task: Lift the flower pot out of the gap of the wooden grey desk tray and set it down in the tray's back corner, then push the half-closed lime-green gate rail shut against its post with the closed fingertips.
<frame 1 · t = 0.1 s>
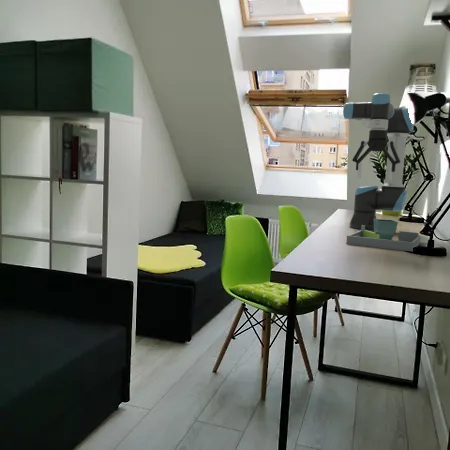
hand: (374, 178, 211), 28 cm above the table, fingers open, 13 cm apart
gate: (371, 234, 214), point 3 cm above the table, hinge at 50.0°
flower pot: (383, 239, 221), on the table
grey desk tray: (382, 243, 207), on the table
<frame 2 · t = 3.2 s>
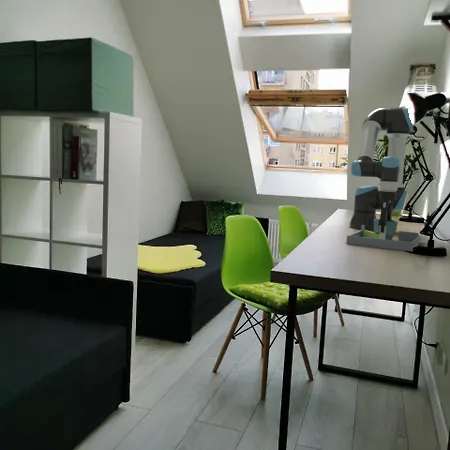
hand: (384, 238, 221), 0 cm above the table, fingers closed on flower pot, 11 cm apart
flower pot: (383, 239, 221), on the table, touching gripper
everything else where it was.
when the fingers open (2 cm above the table, at t = 9.8 s): flower pot drops 1 cm, resting in grey desk tray.
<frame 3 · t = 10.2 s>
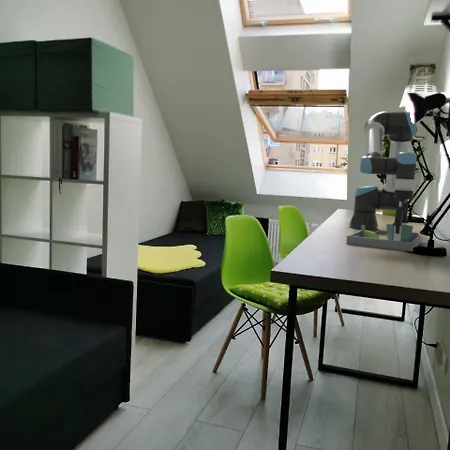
hand: (399, 239, 202), 3 cm above the table, fingers open, 13 cm apart
flower pot: (398, 246, 201), resting in grey desk tray, touching gripper
everything else where it was.
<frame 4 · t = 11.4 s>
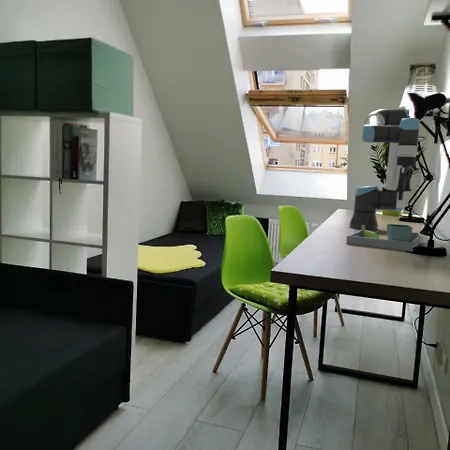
hand: (402, 207, 201), 17 cm above the table, fingers open, 13 cm apart
flower pot: (397, 246, 201), resting in grey desk tray
everything else where it was.
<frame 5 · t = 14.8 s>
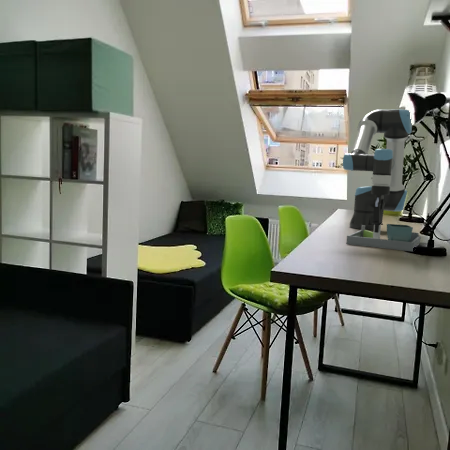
hand: (376, 239, 206), 2 cm above the table, fingers closed
gate: (371, 234, 214), point 3 cm above the table, hinge at 49.4°, touching gripper
everything else where it was.
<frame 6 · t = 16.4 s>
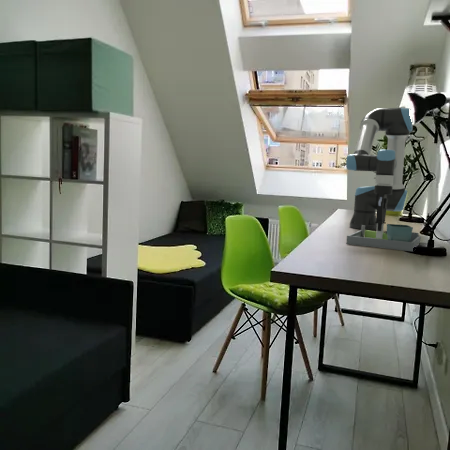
hand: (379, 238, 212), 2 cm above the table, fingers closed
gate: (377, 234, 215), point 3 cm above the table, hinge at 24.7°, touching gripper
everything else where it was.
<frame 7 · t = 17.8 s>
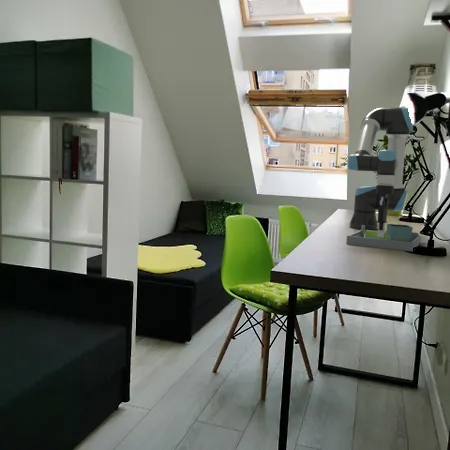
hand: (380, 237, 215), 2 cm above the table, fingers closed
gate: (379, 234, 216), point 3 cm above the table, hinge at 8.8°, touching gripper
everything else where it was.
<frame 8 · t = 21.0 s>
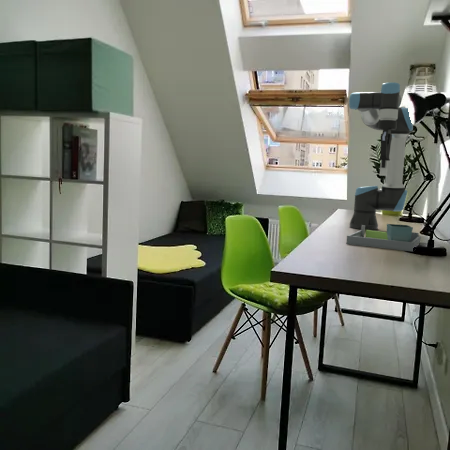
hand: (383, 175, 206), 29 cm above the table, fingers closed
gate: (379, 234, 217), point 3 cm above the table, hinge at 7.1°
everything else where it was.
at the end: gate at +7° (first picture: +50°); flower pot inside the target area (6.2 cm from its centre), resting in grey desk tray; flower pot tilted 0° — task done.
